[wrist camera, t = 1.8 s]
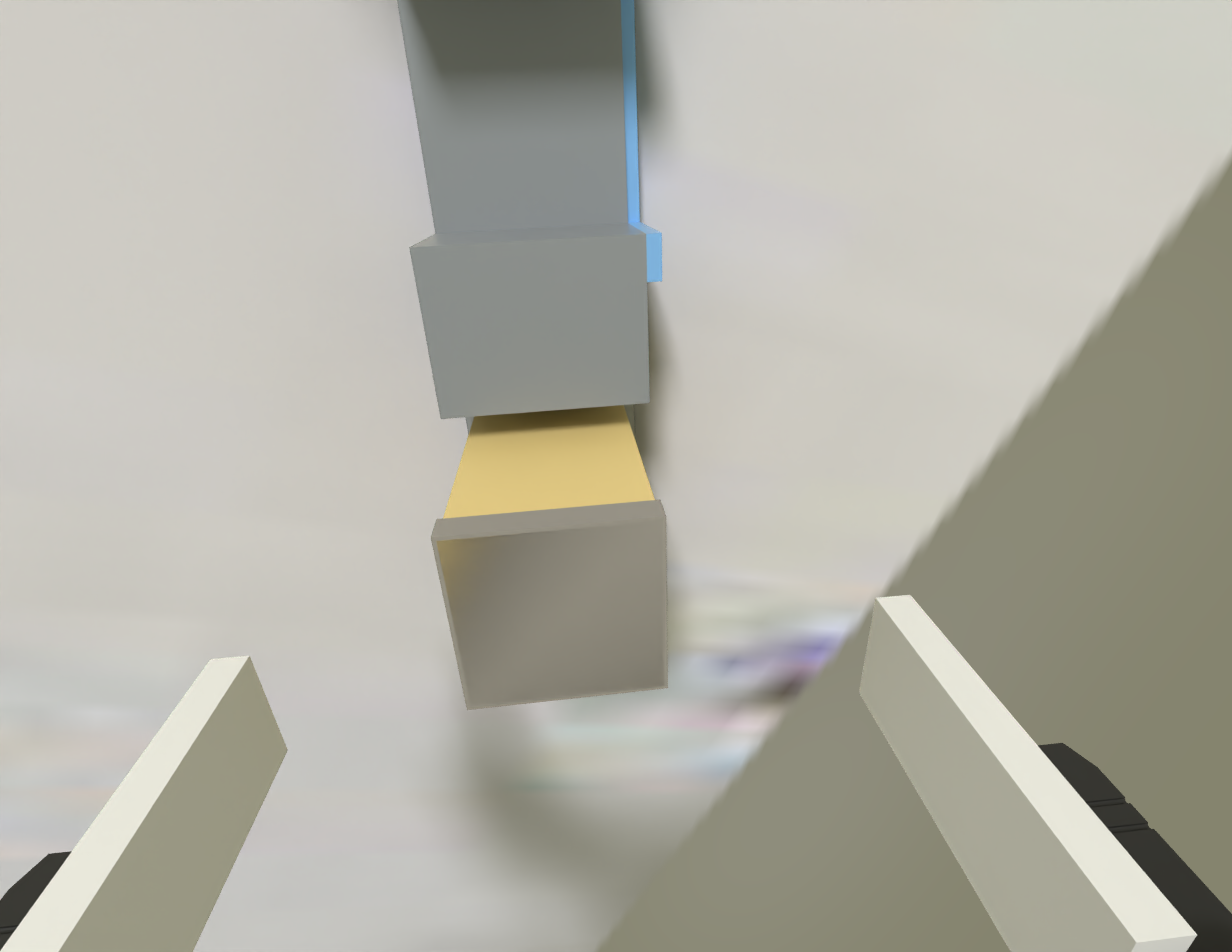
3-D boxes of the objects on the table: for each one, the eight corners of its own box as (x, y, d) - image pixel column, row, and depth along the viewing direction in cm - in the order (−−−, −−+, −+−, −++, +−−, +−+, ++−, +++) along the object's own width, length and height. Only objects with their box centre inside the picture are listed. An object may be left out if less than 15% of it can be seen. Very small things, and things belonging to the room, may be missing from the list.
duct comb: (498, 586, 26) (487, 674, 22) (376, -176, 16) (304, -324, 11) (645, 572, 27) (665, 656, 22) (624, -179, 16) (655, -321, 11)
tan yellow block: (494, 528, 24) (466, 709, 16) (474, 401, 21) (430, 537, 13) (627, 516, 24) (667, 688, 16) (622, 390, 22) (666, 516, 14)
